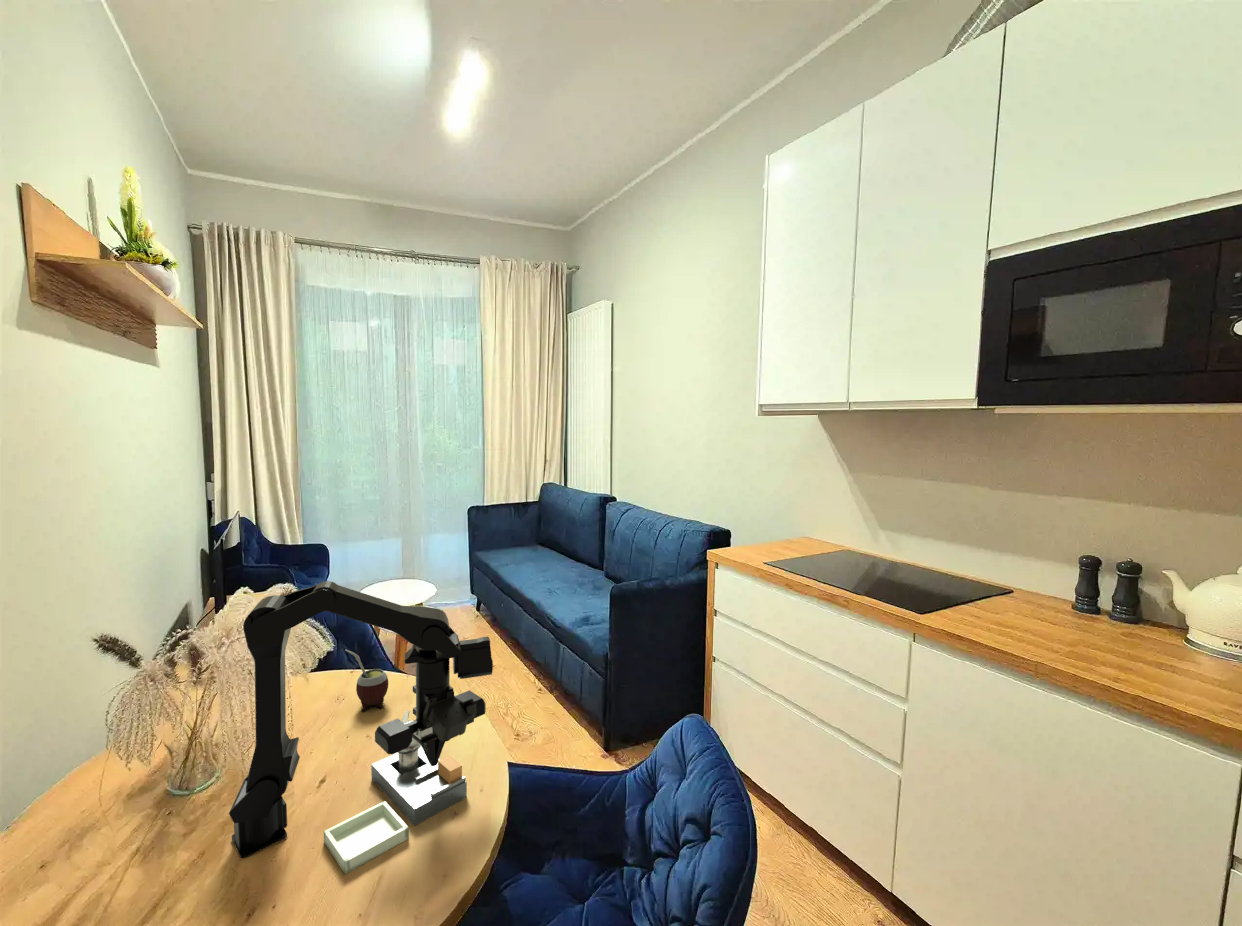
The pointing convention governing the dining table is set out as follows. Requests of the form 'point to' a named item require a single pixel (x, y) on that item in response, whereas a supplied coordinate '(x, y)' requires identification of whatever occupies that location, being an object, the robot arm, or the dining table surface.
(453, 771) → the block
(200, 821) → the dining table surface
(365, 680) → the mate gourd
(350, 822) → the tray
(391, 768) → the metallic box with opening
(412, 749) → the pin
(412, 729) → the robot arm
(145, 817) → the dining table surface
